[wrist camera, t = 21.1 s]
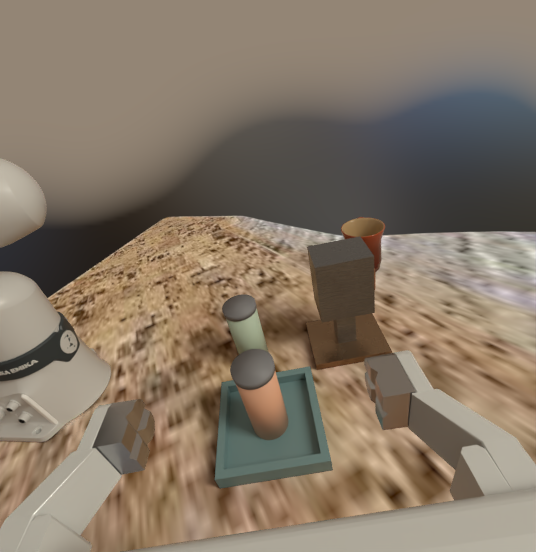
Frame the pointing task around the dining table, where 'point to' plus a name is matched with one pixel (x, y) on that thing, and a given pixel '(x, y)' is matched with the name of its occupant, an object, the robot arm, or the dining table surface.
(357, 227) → the mug
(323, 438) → the tray
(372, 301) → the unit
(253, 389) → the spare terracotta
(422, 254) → the dining table surface
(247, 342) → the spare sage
